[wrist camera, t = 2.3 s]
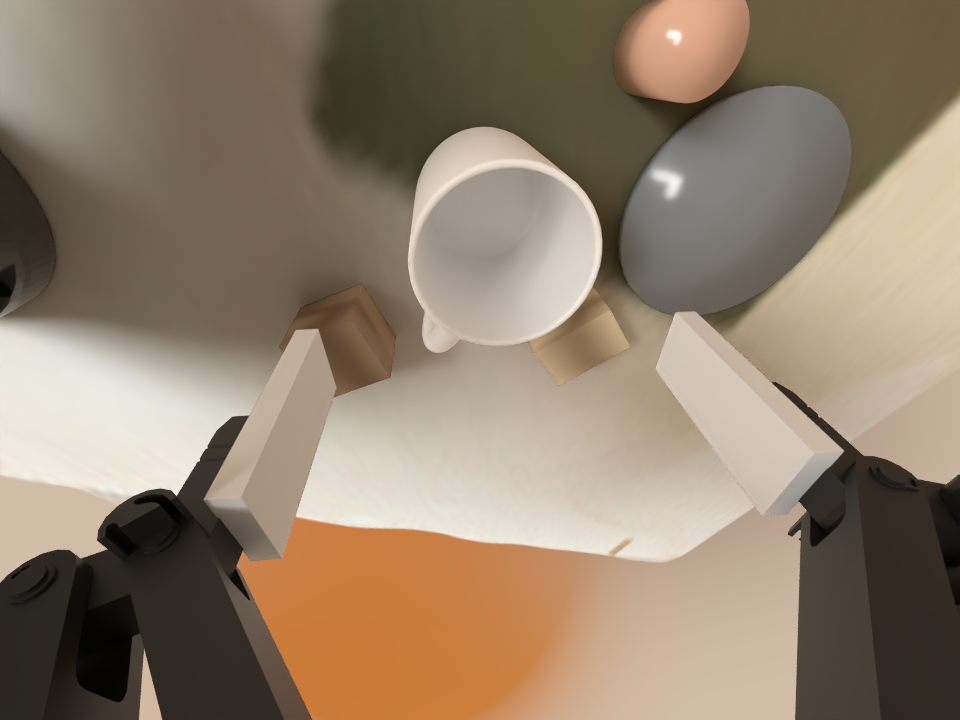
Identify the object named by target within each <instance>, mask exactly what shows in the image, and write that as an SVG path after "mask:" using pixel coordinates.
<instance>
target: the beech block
mask: <svg viewBox="0 0 960 720" xmlns="http://www.w3.org/2000/svg"><path fill="white" fill-rule="evenodd" d="M530 344H531V347H532V349H533V352H534V354H535V356H536V357H537V358H538V360H539V361H540V362H541V364H542V365H543V366H544V367H545V369H546V370H547V371H548V373H549V374H550V375H551V377H552V378H553V379H554V380H555V382H556V383H557V384H558V386H559V385H561V384H563V383H565V382H567V381H569V380H571V379H572V378H574V377H576V376H578V375H580V374H582V373H583V372H585V371H587V370H589V369H591V368H593V367H595V366H596V365H598V364H600V363H602V362H604V361H606V360H608V359H609V358H611V357H613V356H615V355H617V354H619V353H620V352H622V351H624V350H626V349H628V348H630V345H629V343H628V342H627V340H626V338H625V336H624V334H623V332H622V330H621V328H620V327H619V325H618V323H617V321H616V319H615V317H614V315H613V313H612V311H611V310H610V308H609V307H608V306H607V304H606V303H605V301H604V300H603V299H602V297H601V296H600V295H599V293H598V292H597V291H596V289H595V288H594V287H592V289H591V290H590V292H589V294H588V296H587V297H586V299H585V300H584V301H583V303H582V304H581V306H580V307H579V308H578V309H577V310H576V311H575V312H574V313H573V315H572V316H570V317H569V318H568V319H567V320H566V321H565V322H564V323H562V324H561V325H559V326H558V327H557V328H555V329H554V330H552V331H550V332H549V333H547V334H545V335H543V336H541V337H538V338H536V339H534V340H531V341H530Z"/></svg>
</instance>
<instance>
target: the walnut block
mask: <svg viewBox="0 0 960 720" xmlns="http://www.w3.org/2000/svg"><path fill="white" fill-rule="evenodd" d="M305 329H318V330H319V333H320V336H321V339H322V343H323V346H324V349H325V352H326V356H327V359H328V362H329V365H330V369H331V372H332V375H333V378H334V382H335V385H336V390H335V393H334V396H333V397H336V396H339V395H342V394H345V393H347V392H350V391H353V390H356V389H359V388H361V387H364V386H367V385H370V384H373V383H375V382H378V381H381V380H384V379H387V378H390V377H391V370H392V362H393V355H394V347H395V339H396V336H395V335H394V333H393V331H392V330H391V328H390V327H389V325H388V323H387V322H386V320H385V319H384V317H383V315H382V314H381V312H380V311H379V309H378V307H377V306H376V304H375V303H374V301H373V299H372V298H371V296H370V295H369V293H368V291H367V290H366V288H365V287H364V285H363V283H362V284H359V285H357V286H354V287H352V288H349V289H346V290H344V291H341V292H339V293H336V294H334V295H331V296H329V297H326V298H324V299H321V300H319V301H316V302H314V303H311V304H309V305H306V306H304V307H301V308H300V310H299V312H298V314H297V316H296V317H295V319H294V321H293V323H292V325H291V327H290V329H289V330H288V332H287V334H286V336H285V338H284V340H283V342H282V343H281V345H280V349H281V350H282V351H283V352H284V351H285V349H286V347H287V345H288V343H289V342H290V340H291V338H292V336H293V334H294V332H295V331H296V330H305Z"/></svg>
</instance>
